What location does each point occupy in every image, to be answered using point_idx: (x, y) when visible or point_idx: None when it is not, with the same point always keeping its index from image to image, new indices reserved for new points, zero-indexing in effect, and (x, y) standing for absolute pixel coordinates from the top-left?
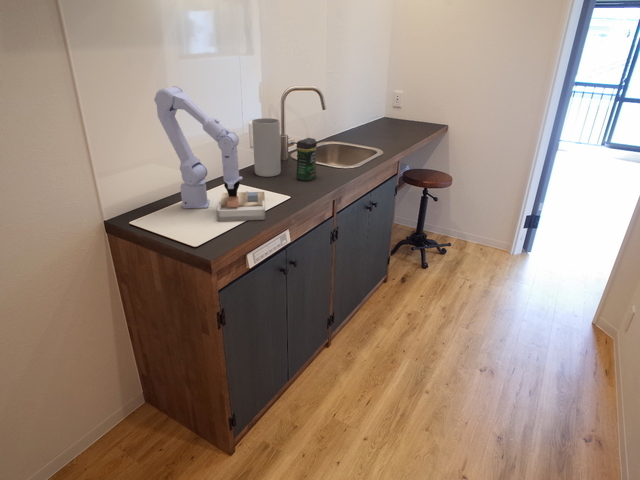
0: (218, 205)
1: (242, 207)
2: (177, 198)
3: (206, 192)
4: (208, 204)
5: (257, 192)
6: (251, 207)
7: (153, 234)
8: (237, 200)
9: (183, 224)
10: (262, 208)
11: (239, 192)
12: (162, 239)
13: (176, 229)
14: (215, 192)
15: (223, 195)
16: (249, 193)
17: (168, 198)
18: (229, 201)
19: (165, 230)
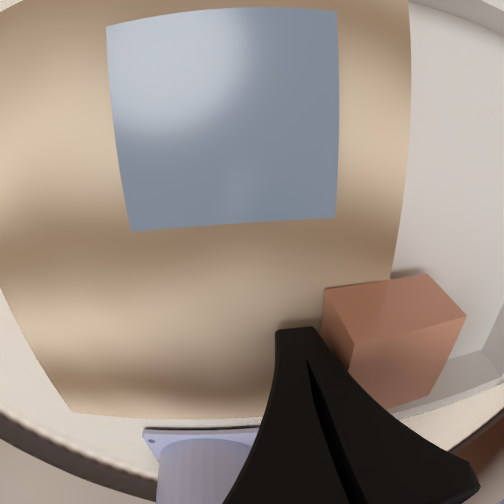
0: (431, 409)
1: (404, 228)
2: (146, 488)
3: (203, 500)
4: (218, 431)
5: (140, 25)
6: (421, 129)
7: (455, 448)
8: (457, 321)
9: (431, 429)
10: (454, 17)
11: (11, 304)
12: (494, 420)
13: (458, 426)
14: (17, 399)
15: (122, 409)
16: (199, 187)
17: (154, 498)
18: (435, 377)
19: (448, 442)
